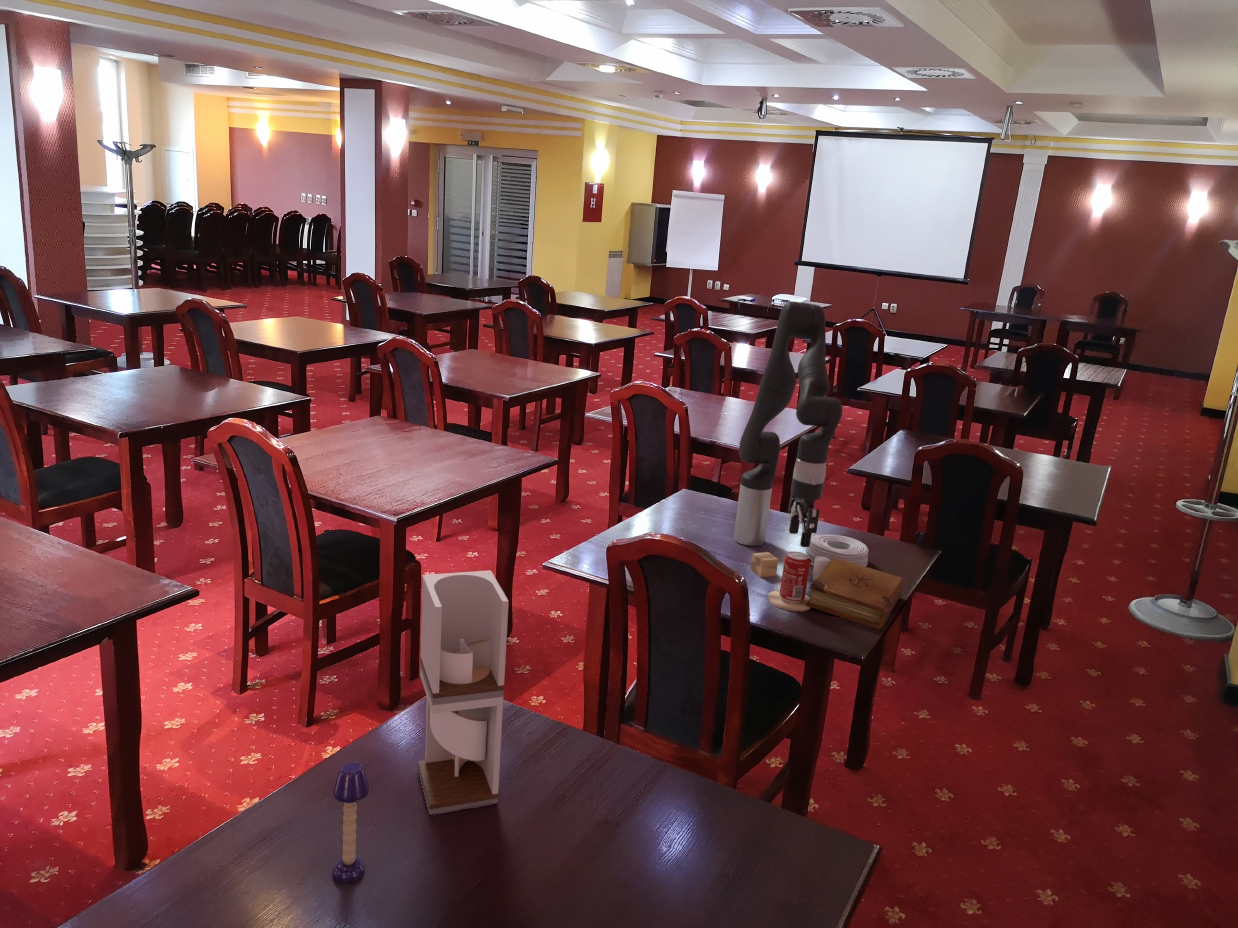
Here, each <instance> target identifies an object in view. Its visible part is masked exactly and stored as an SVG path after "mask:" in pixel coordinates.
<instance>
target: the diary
mask: <svg viewBox="0 0 1238 928" xmlns="http://www.w3.org/2000/svg"><path fill="white" fill-rule="evenodd" d="M904 584H905V579H904V578H903V577H901V576H899V575H895V574H891V573H887V572H885V571H881V570H877V569H874V568H871V567H867V566H866V567H864V566H861V565H858V564H854V563H851V562H848V561H844V560H841V559H837V558H834V559H833V560H832V561H831V563H830V564H829V565H828V566H827V567H826V568H825V569H824V571H823V572H822V573H821V574H820V575H819V576H818V577H817V579H816V580H815V581H813V582H812V583H811V584H810V586H809V589H810V590H812V591H811V596H810V597H809V598H810V599H809V601H808V602H807V605H806V606H809V607H811V609H815V610H819V611H821V612H825V613H827V614H831V615H833V616H836V617H839V618H843V619H846V620H848V621H852V622H856V623H858V624H861V625H865V626H868V627H871V628H874V629H877V630H880V629H882V627H884V624H885V623H886V622H887V619H888V618H889V617H890V615H891V613H892V612H893V609H894V607H896V604H897V603H898V601H899V599H900V598H901V596H902V593H903V589H904Z"/></svg>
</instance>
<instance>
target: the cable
mask: <svg viewBox="0 0 1238 928" xmlns="http://www.w3.org/2000/svg"><path fill="white" fill-rule="evenodd" d="M805 554H806V555H808V559H809V561H810V567H814V562H815V557H818V556H822V557H826V558H829V559H830V563H831V561H832V560H833V559H834V558H837V559H841V560H844V561H848V562H851V563H854V564H858V565H861V566H864V567H867V565H868V561H869V559H868V557H869V548H868V546H867V545H866V544H865V543H864V542H862V541H860V540H859V539H856V538H853V537H849V536H844V535H839V534H818V535H817V534H816V535H811V541H810V546H809V547H805Z"/></svg>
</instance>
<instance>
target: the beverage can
mask: <svg viewBox="0 0 1238 928" xmlns="http://www.w3.org/2000/svg"><path fill="white" fill-rule="evenodd" d="M810 562H811V560H810V559H808V555H806V552H805V553H804V552H802V551H795V550H794V551H790V552H788V553H787V555H786V556H785V557H784V561H783V567H782V573H781V581H780V588H779V590H780V596H781V597H782V599H783V600H784V601H785V602H788V603H793V604H797V603H800V602H801V601H803V600H804V599H805V595H807V594H806V593H807V585H808V580H809V573H810V569H811V568H810V567H811V566H810Z"/></svg>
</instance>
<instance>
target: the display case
mask: <svg viewBox="0 0 1238 928" xmlns="http://www.w3.org/2000/svg"><path fill="white" fill-rule="evenodd" d="M421 588H422V589H421V590H422V591H421V595H422V596H421V621H420V622H421V625H420V627H421V628H420V631H421V633H420V659H419V660H420V664H419V665H420V666H419V676H420V679H421V682H422V683H421V684H422V686H423V689H424V692H425V695H426V716H425V717H426V718H425V747H424V748H425V749H424V750H425V753H424V759H423V760H422V759H421V760H417V773H418V772H419V775H418V777H419V776H420V779H419V781H420V780H421V783H420V785H421V784H422V786H421V789H422V788H423V790H422V792H423V791H424V794H423V796H424V795H425V798H424V800H425V799H426V802H425V804H426V803H427V805H426V808H427V807H428V809H427V812H428V811H429V813H428V815H429V814H434V813H438V812H443V811H448V810H454V809H460V808H465V807H470V806H476V805H482V804H487V803H496V802H499V787H500V786H499V785H500V783H499V782H500V781H499V780H500V766H501V765H500V763H501V750H502V749H501V746H502V730H503V729H502V728H503V712H504V711H503V710H504V692H505V674H506V673H505V672H506V657H507V656H506V654H507V640H508V639H507V636H508V619H509V617H508V616H509V600H508V598H507V596H506V594H505V592H504V590H503V589H502V587H501V586H500V584H499V582H498V580H497V578H496V577H495V575H494V573H493V572H492V570H476V571H465V572H463V571H462V572H460V571H459V572H449V573H434V574H422V586H421Z"/></svg>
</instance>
